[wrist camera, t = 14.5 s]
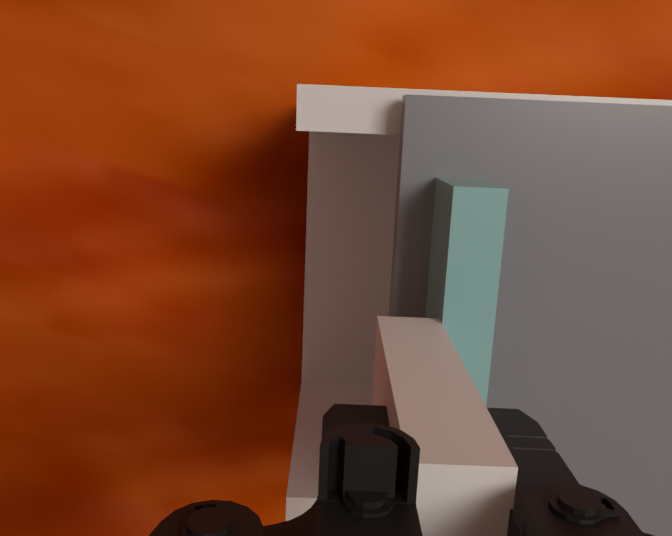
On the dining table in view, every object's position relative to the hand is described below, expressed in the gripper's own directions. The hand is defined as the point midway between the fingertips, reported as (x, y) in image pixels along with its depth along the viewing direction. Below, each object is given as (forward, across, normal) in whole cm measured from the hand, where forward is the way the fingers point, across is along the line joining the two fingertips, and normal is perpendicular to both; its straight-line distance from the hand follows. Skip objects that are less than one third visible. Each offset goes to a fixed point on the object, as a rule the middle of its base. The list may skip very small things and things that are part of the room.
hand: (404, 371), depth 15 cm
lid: (+3, +5, 0) cm, 6 cm away
